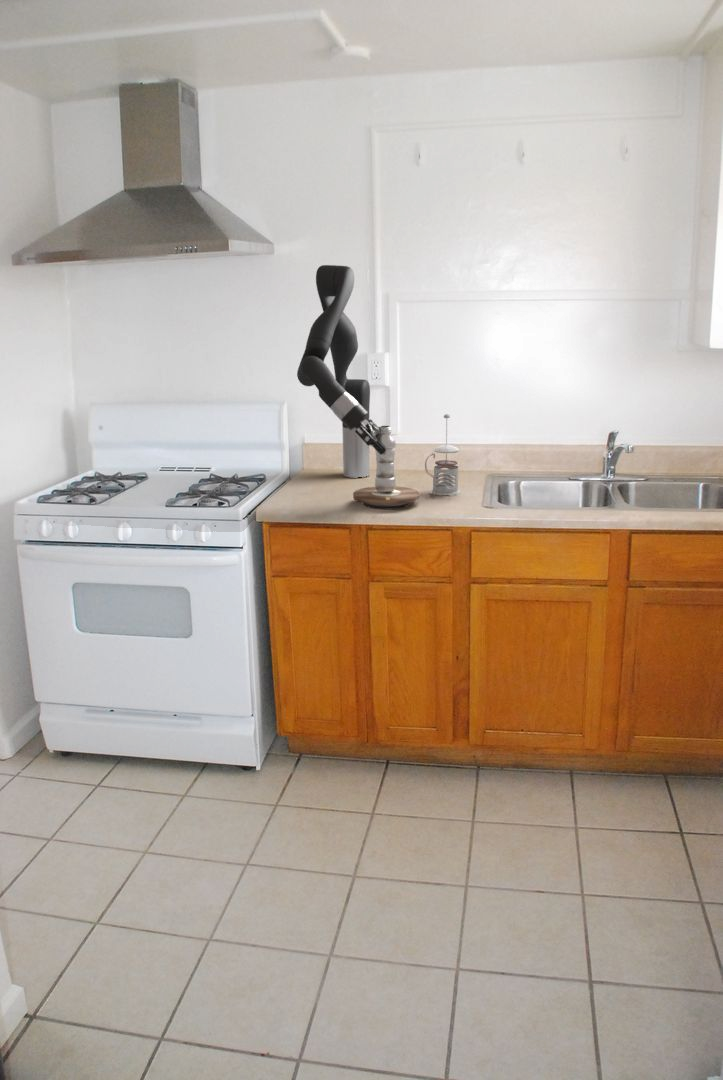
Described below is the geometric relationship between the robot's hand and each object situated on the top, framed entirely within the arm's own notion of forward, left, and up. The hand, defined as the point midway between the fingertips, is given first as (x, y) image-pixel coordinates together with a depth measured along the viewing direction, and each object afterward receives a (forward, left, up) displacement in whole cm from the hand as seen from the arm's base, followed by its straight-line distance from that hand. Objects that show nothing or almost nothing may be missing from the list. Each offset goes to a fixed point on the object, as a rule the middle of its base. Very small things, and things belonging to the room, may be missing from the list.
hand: (386, 449), depth 265 cm
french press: (-14, +19, -17) cm, 29 cm away
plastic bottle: (0, 0, -13) cm, 13 cm away
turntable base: (0, 0, -16) cm, 16 cm away
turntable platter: (0, 0, -14) cm, 14 cm away
